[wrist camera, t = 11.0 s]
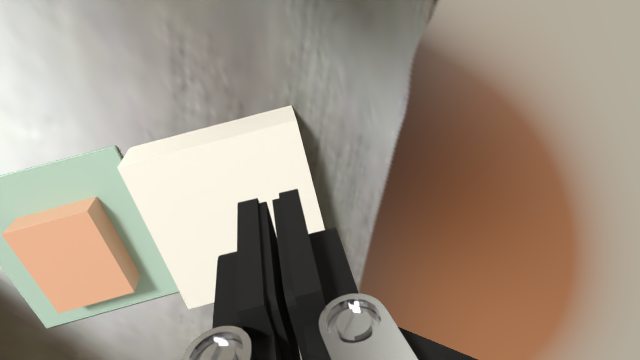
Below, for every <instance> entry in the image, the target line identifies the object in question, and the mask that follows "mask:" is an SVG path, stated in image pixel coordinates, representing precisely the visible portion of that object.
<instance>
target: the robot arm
mask: <svg viewBox="0 0 640 360" xmlns="http://www.w3.org/2000/svg"><path fill="white" fill-rule="evenodd" d="M272 203H273V211H274V219H275V227H276V233H275V229H274V226H273V222H272V219H271V215H270V212H269V208H268V205H267V202H261V203H259V200H258V198H256V199H251V200H247V201H243V202H239V203H238V206H237V251H236V252H232V253H227V254H223V255H219V257H218V261H217V273H216V287H215V300H214V314H213V328H212V329H211V330H209V331H207V332H205V333H203V334H201V335H200V336H199V337H198V338H196V339H195V340H194V341H193V342H192V343H191V345H190V346H189V347H188V348H187V349H186V352H185V354H184V356H183V358H182V360H300V353H301V356H302V359H303V360H477V359H475V358H472V357H470V356H468V355H465V354H463V353H460V352H458V351H455V350H453V349H451V348H448V347H446V346H443V345H441V344H438V343H436V342H434V341H431V340H429V339H426V338H424V337H421V336H419V335H417V334H414V333H412V332H409V331H407V330H404V329H402V328H399V327H397V325H396V324H395V322H394V321H393V319H392V318H391V316H390V314H389V313H388V311H387V310H386V308H385V307H384V306H383V304H382V303H381V302H380V301H379V300H377V299H375V298H373V297H372V296H369V295H365V294H359V293H358V290H357V287H356V284H355V282H354V279H353V276H352V273H351V270H350V267H349V264H348V261H347V258H346V255H345V252H344V250H343V247H342V244H341V241H340V238H339V235H338V232H337V230H336V228H331V229H327V230H322V231H318V232H314V233H310V234H308V230H307V226H306V221H305V217H304V213H303V209H302V205H301V201H300V196H299V192H298V189H294V190H290V191H285V192H281V193H279V198H278V199H274V200H272ZM276 235H277V237H276ZM298 346H299V347H298ZM299 349H300V353H299Z"/></svg>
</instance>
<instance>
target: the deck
mask: <svg viewBox="0 0 640 360" xmlns="http://www.w3.org/2000/svg"><path fill="white" fill-rule="evenodd" d="M117 168H118V170H119V172H120V174H121V176H122V178H123V180H124V182H125V184H126V186H127V188H128V190H129V192H130V194H131V196H132V198H133V200H134V202H135V204H136V206H137V208H138V210H139V212H140V214H141V216H142V218H143V220H144V222H145V224H146V226H147V228H148V230H149V232H150V234H151V236H152V238H153V240H154V242H155V244H156V246H157V248H158V250H159V252H160V254H161V256H162V258H163V259H164V261H165V263H166V265H167V267H168V269H169V271H170V273H171V275H172V277H173V279H174V281H175V283H176V285H177V287H178V289H179V291H180V293H181V295H182V297H183V299H184V301H185V303H186V305H187V307H188V309H191V308H195V307H199V306H202V305H206V304H209V303H213V302H214V300H215V287H216V273H217V261H218V257H219V255H223V254H227V253H232V252H236V251H237V206H238V203H239V202H243V201H247V200H251V199H256V198H258V200H259V203H261V202H267V205H268V208H269V212H270V215H271V219H272V222H273V226H274V229H275V233H276V227H275V219H274V211H273V203H272V200H274V199H278V198H279V193H281V192H285V191H290V190H294V189H298V192H299V196H300V201H301V205H302V209H303V213H304V217H305V221H306V226H307V230H308V234H310V233H314V232H318V231H322V230H325V228H324V224H323V221H322V217H321V213H320V209H319V205H318V201H317V197H316V193H315V190H314V186H313V182H312V178H311V174H310V170H309V166H308V163H307V159H306V155H305V151H304V147H303V143H302V139H301V135H300V132H299V128H298V124H297V120H296V117H295V114H294V111H293V108H292V105H291V106H287V107H283V108H279V109H275V110H272V111H268V112H264V113H260V114H256V115H253V116H249V117H245V118H241V119H237V120H233V121H230V122H226V123H222V124H218V125H214V126H211V127H207V128H203V129H199V130H195V131H192V132H188V133H184V134H180V135H176V136H172V137H169V138H165V139H161V140H157V141H153V142H150V143H146V144H142V145H138V146H134V147H131V148H129V150H128V152H127V153H126V155H125V156H124V158H123V159H122V161H121V162H120V164H119V165H118V167H117ZM276 237H277V235H276Z"/></svg>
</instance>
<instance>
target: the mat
mask: <svg viewBox="0 0 640 360" xmlns="http://www.w3.org/2000/svg"><path fill="white" fill-rule="evenodd" d="M121 161H122V157H121V155H120V153H119V151H118V149H117V147H116V145H115V146H111V147H108V148H104V149H100V150H96V151H92V152H88V153H85V154H81V155H77V156H73V157H69V158H66V159H62V160H58V161H54V162H50V163H46V164H43V165H39V166H35V167H31V168H27V169H24V170H20V171H16V172H12V173H8V174H4V175H1V176H0V267H1V268H2V269H3V271H4V272H5V273H6V275H7V276H8V277H9V279H10V280H11V281H12V283H13V284H14V285H15V287H16V288H17V289H18V291H19V292H20V293H21V295H22V296H23V297H24V299H25V300H26V301H27V303H28V304H29V305H30V307H31V308H32V309H33V311H34V312H35V313H36V315H37V316H38V317H39V319H40V320H41V321H42V323H43V324H44V325H45V327H46V328H49V327H53V326H57V325H60V324H64V323H67V322H71V321H75V320H78V319H82V318H85V317H89V316H93V315H96V314H100V313H103V312H107V311H111V310H114V309H118V308H121V307H125V306H129V305H132V304H136V303H139V302H143V301H147V300H150V299H154V298H157V297H161V296H165V295H168V294H172V293H175V292H179V289H178V287H177V285H176V283H175V281H174V279H173V277H172V275H171V273H170V271H169V269H168V267H167V265H166V263H165V261H164V259H163V258H162V256H161V254H160V252H159V250H158V248H157V246H156V244H155V242H154V240H153V238H152V236H151V234H150V232H149V230H148V228H147V226H146V224H145V222H144V220H143V218H142V216H141V214H140V212H139V210H138V208H137V206H136V204H135V202H134V200H133V198H132V196H131V194H130V192H129V190H128V188H127V186H126V184H125V182H124V180H123V178H122V176H121V174H120V172H119V170H118V168H117V167H118V165H119V164H120V162H121ZM96 196H97V198H98V199H99V201H100V203H101V205H102V207H103V208H104V210H105V212H106V214H107V216H108V217H109V219H110V221H111V223H112V225H113V226H114V228H115V230H116V232H117V234H118V235H119V237H120V239H121V241H122V242H123V244H124V246H125V248H126V250H127V251H128V253H129V255H130V257H131V259H132V260H133V262H134V264H135V266H136V268H137V269H138V271H139V273H140V277H139V280H138V283H137V286H136V289H135V292H133V293H130V294H126V295H123V296H119V297H116V298H112V299H108V300H105V301H101V302H98V303H94V304H91V305H87V306H83V307H80V308H76V309H73V310H69V311H66V312H62V313H58V312H57V311H56V309H55V308H54V307H53V305H52V304H51V302H50V301H49V300H48V298H47V297H46V295H45V294H44V293H43V291H42V290H41V289H40V287H39V286H38V284H37V283H36V282H35V280H34V279H33V277H32V276H31V275H30V273H29V272H28V271H27V269H26V268H25V266H24V265H23V264H22V262H21V261H20V259H19V258H18V257H17V255H16V254H15V253H14V251H13V250H12V248H11V247H10V246H9V244H8V243H7V241H6V240H5V239H4V237H3V236H2V235H1V234H2V233H3V232H4V231H5V230H6V229H7V228H8V227H9V226H10V225H11V224H12V222H13V221H14V220H15V219H16V218H19V217H23V216H26V215H30V214H34V213H37V212H41V211H45V210H48V209H52V208H56V207H59V206H63V205H67V204H70V203H74V202H78V201H81V200H85V199H89V198H93V197H96Z"/></svg>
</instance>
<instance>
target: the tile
mask: <svg viewBox="0 0 640 360" xmlns="http://www.w3.org/2000/svg"><path fill="white" fill-rule="evenodd" d="M1 235H2V236H3V237H4V239H5V240H6V241H7V243H8V244H9V246H10V247H11V248H12V250H13V251H14V253H15V254H16V255H17V257H18V258H19V259H20V261H21V262H22V264H23V265H24V266H25V268H26V269H27V271H28V272H29V273H30V275H31V276H32V277H33V279H34V280H35V282H36V283H37V284H38V286H39V287H40V289H41V290H42V291H43V293H44V294H45V295H46V297H47V298H48V300H49V301H50V302H51V304H52V305H53V307H54V308H55V309H56V311H57V312H58V313H62V312H66V311H69V310H73V309H76V308H80V307H83V306H87V305H91V304H94V303H98V302H101V301H105V300H108V299H112V298H116V297H119V296H123V295H126V294H130V293H133V292H135V289H136V286H137V283H138V280H139V277H140V273H139V271H138V269H137V268H136V266H135V264H134V262H133V260H132V259H131V257H130V255H129V253H128V251H127V250H126V248H125V246H124V244H123V242H122V241H121V239H120V237H119V235H118V234H117V232H116V230H115V228H114V226H113V225H112V223H111V221H110V219H109V217H108V216H107V214H106V212H105V210H104V208H103V207H102V205H101V203H100V201H99V199H98V198H97V196H96V197H93V198H89V199H85V200H81V201H78V202H74V203H70V204H67V205H63V206H59V207H56V208H52V209H48V210H45V211H41V212H37V213H34V214H30V215H26V216H23V217H19V218H16V219H15V220H14V221H13V222H12V224H11V225H10V226H9V227H8V228H7V229H6V230H5V231H4V232H3V233H2V234H1Z"/></svg>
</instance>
